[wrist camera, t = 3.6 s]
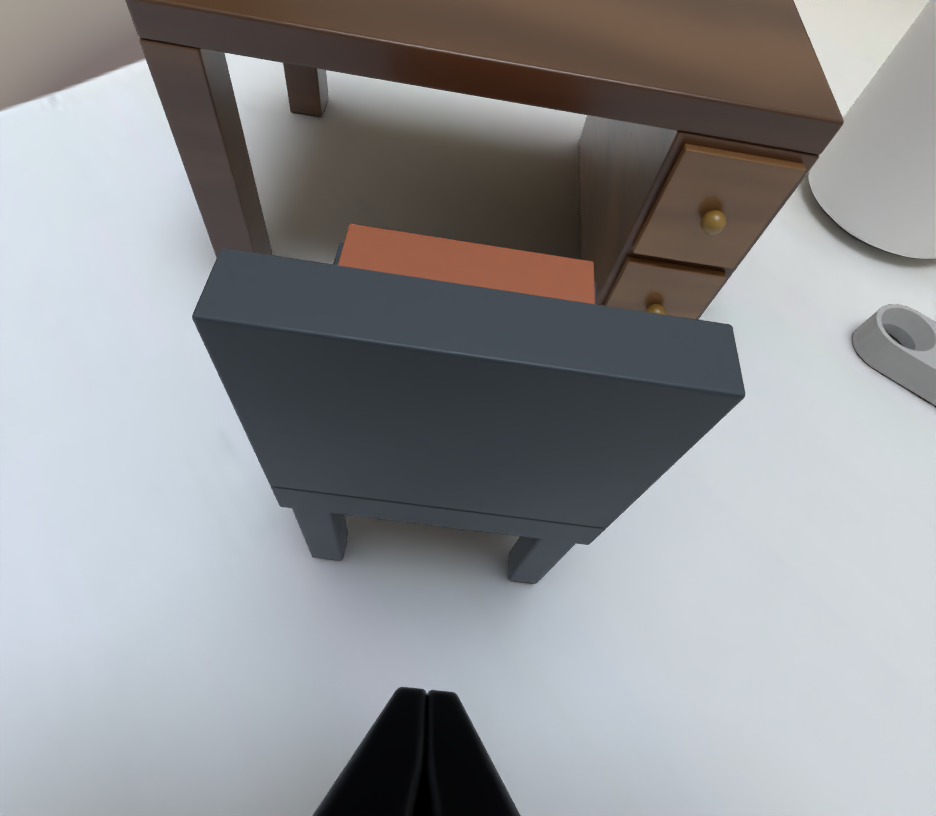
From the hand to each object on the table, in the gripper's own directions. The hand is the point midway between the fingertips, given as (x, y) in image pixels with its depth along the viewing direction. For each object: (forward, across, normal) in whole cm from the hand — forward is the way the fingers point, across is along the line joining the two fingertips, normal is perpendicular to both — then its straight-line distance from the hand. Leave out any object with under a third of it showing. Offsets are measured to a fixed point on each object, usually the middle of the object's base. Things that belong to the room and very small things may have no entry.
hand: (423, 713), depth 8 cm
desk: (+20, 0, -8) cm, 22 cm away
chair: (+11, 0, 0) cm, 11 cm away
